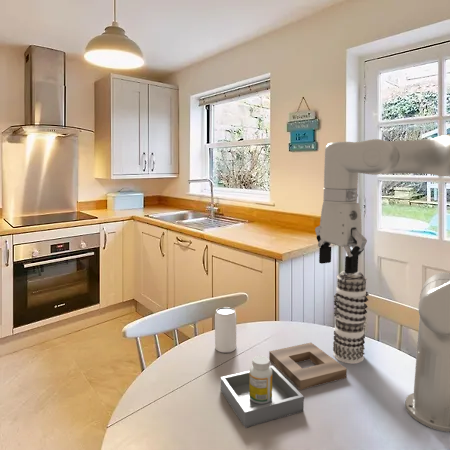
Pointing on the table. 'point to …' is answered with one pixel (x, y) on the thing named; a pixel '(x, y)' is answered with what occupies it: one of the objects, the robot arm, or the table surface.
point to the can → (225, 330)
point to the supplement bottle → (260, 380)
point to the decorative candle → (350, 317)
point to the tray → (259, 413)
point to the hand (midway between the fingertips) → (337, 267)
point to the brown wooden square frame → (308, 376)
